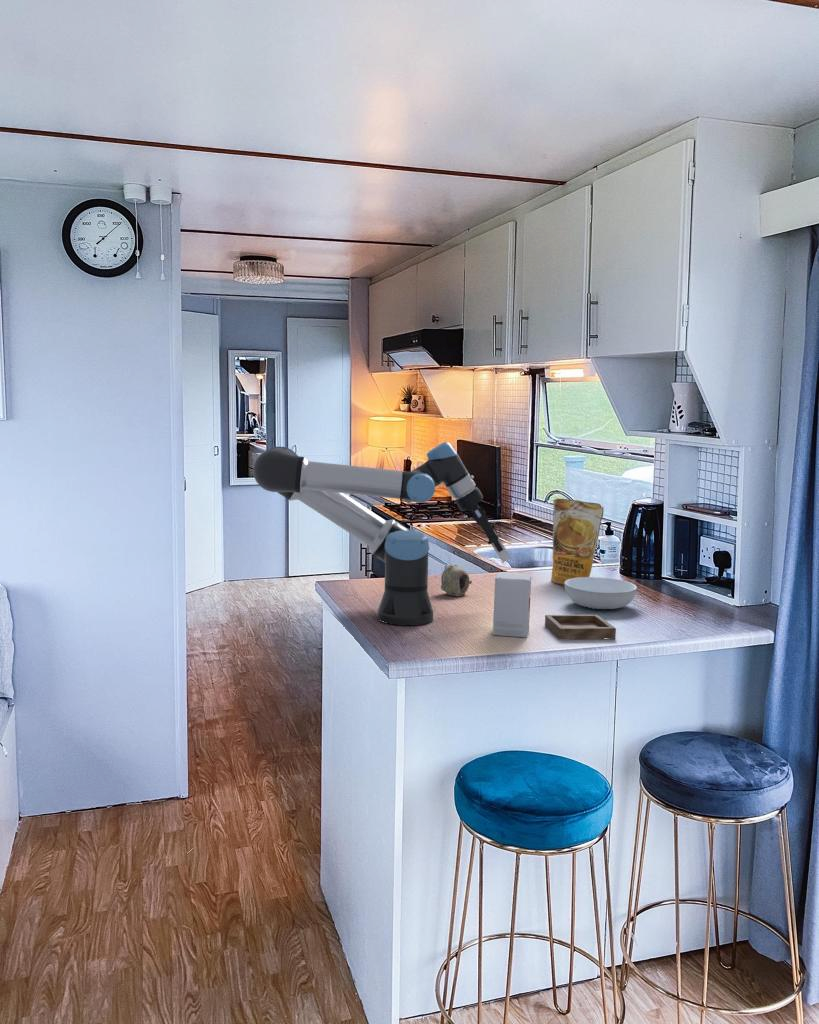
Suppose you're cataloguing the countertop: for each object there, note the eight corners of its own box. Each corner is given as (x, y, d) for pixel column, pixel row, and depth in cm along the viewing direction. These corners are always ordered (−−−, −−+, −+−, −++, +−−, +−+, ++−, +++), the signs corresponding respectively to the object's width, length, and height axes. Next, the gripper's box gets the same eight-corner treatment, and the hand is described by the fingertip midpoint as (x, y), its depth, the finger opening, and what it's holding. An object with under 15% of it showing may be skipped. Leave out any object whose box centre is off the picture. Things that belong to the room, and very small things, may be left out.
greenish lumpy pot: (443, 603, 265) (433, 574, 263) (447, 593, 273) (437, 564, 271) (473, 596, 263) (463, 566, 260) (475, 586, 271) (466, 557, 268)
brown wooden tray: (559, 639, 217) (560, 628, 217) (544, 625, 231) (545, 614, 231) (615, 639, 219) (615, 628, 218) (597, 624, 233) (597, 614, 233)
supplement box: (527, 638, 218) (530, 580, 216) (492, 635, 220) (494, 577, 218) (530, 629, 227) (532, 573, 225) (495, 627, 228) (497, 571, 227)
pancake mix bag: (556, 578, 295) (560, 497, 292) (601, 588, 280) (605, 503, 277) (543, 581, 291) (546, 498, 287) (587, 591, 276) (592, 504, 273)
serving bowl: (554, 609, 250) (555, 586, 250) (575, 596, 269) (576, 574, 268) (625, 618, 241) (627, 594, 240) (643, 604, 259) (644, 581, 258)
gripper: (480, 491, 232) (521, 557, 235) (473, 480, 257) (510, 540, 259) (456, 506, 233) (497, 571, 235) (451, 494, 257) (488, 553, 260)
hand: (504, 555), depth 247 cm, fingers open, 13 cm apart
